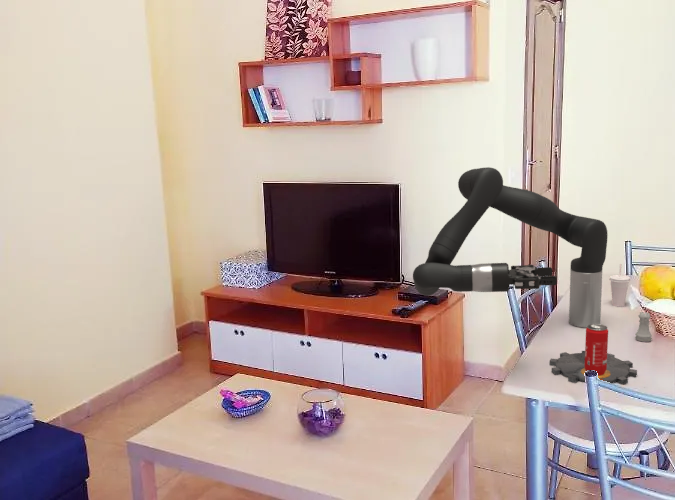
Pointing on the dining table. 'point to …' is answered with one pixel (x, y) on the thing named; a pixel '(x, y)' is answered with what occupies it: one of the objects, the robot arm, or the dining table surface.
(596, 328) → the beverage can
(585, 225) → the robot arm
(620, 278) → the smoothie
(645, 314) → the rook chess piece
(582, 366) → the sprocket
